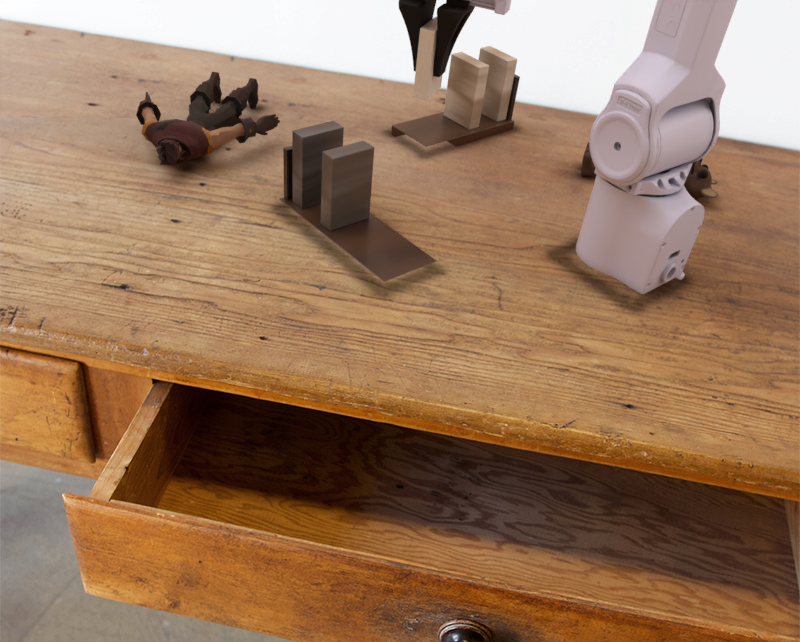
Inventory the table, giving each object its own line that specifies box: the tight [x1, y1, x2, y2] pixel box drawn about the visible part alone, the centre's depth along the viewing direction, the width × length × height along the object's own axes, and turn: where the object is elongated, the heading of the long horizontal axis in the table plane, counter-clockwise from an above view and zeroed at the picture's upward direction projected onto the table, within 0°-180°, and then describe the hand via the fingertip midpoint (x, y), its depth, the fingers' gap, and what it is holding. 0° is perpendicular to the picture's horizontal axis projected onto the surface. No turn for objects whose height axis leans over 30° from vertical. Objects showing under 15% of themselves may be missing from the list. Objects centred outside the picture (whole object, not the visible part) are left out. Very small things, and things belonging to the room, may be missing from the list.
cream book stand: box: [390, 45, 521, 148], centre depth 86 cm, size 6×14×8 cm, turn 130°
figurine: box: [135, 71, 281, 166], centre depth 80 cm, size 15×4×20 cm
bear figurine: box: [580, 141, 719, 200], centre depth 82 cm, size 18×4×14 cm
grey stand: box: [278, 120, 437, 283], centre depth 68 cm, size 16×6×8 cm, turn 40°
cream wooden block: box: [412, 16, 444, 101], centre depth 80 cm, size 2×4×7 cm, turn 158°
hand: (429, 71), depth 81 cm, fingers closed on cream wooden block, 1 cm apart
